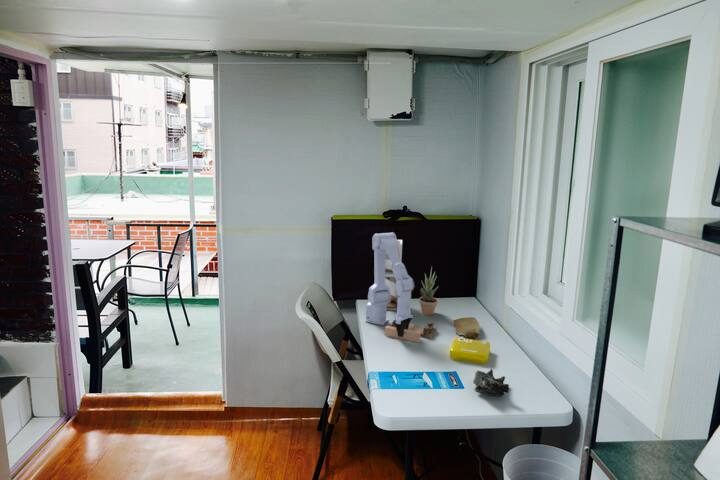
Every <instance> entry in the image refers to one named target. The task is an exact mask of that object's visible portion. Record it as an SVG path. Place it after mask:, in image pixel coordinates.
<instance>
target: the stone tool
mask: <svg viewBox="0 0 720 480" xmlns="http://www.w3.org/2000/svg"><path fill="white" fill-rule="evenodd" d="M452 324H453V327H455V330H454V331H455V334H457V335H459V336H463V338H465V339H472V340H477V339H478V338H479V336H480V335H479V334H480V333H481V332H482V331H481V326H480V322H479V321H478V319H477V318H476V317H474V316H472V317H469V316H467V317H460V318H456V319H454V320H453V321H452Z"/></svg>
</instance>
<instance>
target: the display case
mask: <svg viewBox="0 0 720 480" xmlns="http://www.w3.org/2000/svg"><path fill="white" fill-rule="evenodd" d="M396 249H397V252H398V256H399V259H400V262H401V263H402V258H403V256H402V255H403V239H397V244H396ZM392 267H393V264H392V262H391V260H390V258H389V256H388V253H387V251H385V284H386V285H387V286H388V287H389V288H390V294H391V299H390V301H389V302H388V304H387V308H386V311H396V312H397V304H398V295H397V289H396V282H397V281H396V279H395V276H394V273H393V271H392Z"/></svg>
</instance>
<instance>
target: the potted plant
mask: <svg viewBox="0 0 720 480" xmlns="http://www.w3.org/2000/svg"><path fill="white" fill-rule="evenodd" d="M432 270H433V266H431V269H430V274H429V277H427V274H426V273H425V272H424V277H425V278H424V282H423V280H422V279H421V285H422V287H421V289H419V291H420V295H421V296H420V297H419V300H418V301H419V302H418V303H419V306H420V308H421V309H420V310H421V314H423V315H426V316H431V315H434V313H435V310H436V307H437V305H438V303H439V300H438V298H436V297H434V294H435V292H436V291H437V290H438V288H439V285H438V286H436V288H434V289H433V287H434V285H435V283H436V282H435V281H436V279H437V277H438V276H437V275H436V276H435V274H436V271H434V273H433V275H432V272H433V271H432Z"/></svg>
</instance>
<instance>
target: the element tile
mask: <svg viewBox="0 0 720 480" xmlns="http://www.w3.org/2000/svg"><path fill="white" fill-rule="evenodd" d="M452 340H453V341H452V343H451V346H450V352H449V359H450V360H453V361H458V362H465V363H472V364H478V365H487V364H488V363H489V357H490V351H491V350H490V349H491V343H490V342H489V341H485V340H479V339H478V340H477V339H476V340H472V339H465V338H464V337H458V336H457V337H454V339H452Z"/></svg>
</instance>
